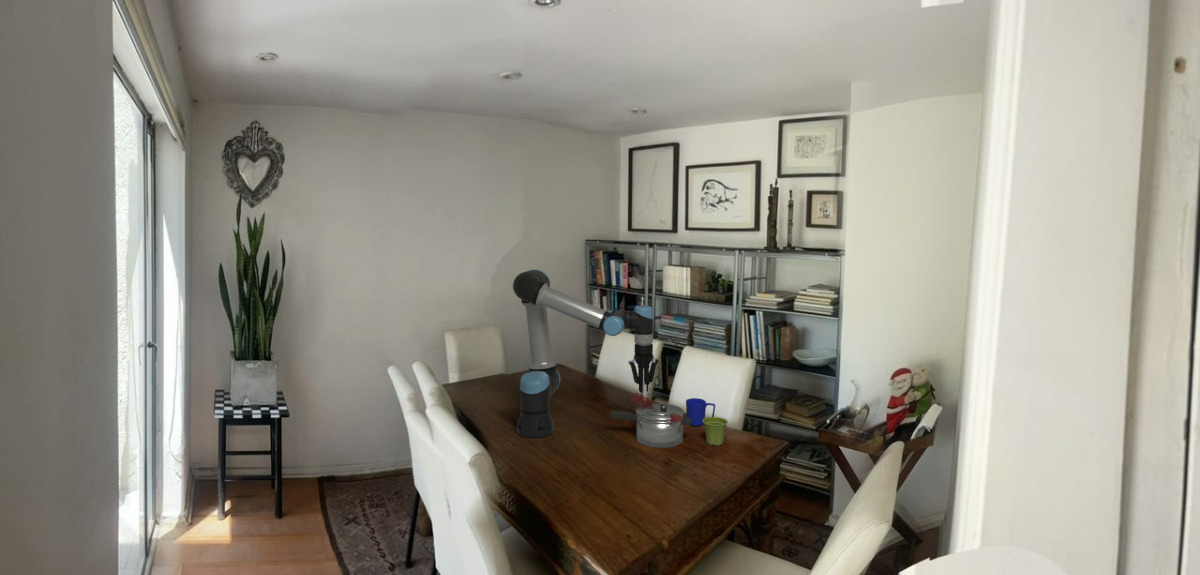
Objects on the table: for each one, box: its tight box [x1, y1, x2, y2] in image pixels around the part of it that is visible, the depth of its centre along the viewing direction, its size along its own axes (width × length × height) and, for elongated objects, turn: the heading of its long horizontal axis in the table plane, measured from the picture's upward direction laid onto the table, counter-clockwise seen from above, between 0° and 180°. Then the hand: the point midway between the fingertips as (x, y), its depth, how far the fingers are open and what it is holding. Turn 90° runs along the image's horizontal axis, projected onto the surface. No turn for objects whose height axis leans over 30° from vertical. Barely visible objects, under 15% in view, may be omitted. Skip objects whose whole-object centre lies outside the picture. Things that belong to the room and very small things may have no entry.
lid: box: [630, 392, 685, 423], centre depth 227 cm, size 32×19×4 cm, turn 28°
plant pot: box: [703, 416, 728, 446], centre depth 220 cm, size 9×9×9 cm
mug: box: [685, 397, 716, 427], centre depth 241 cm, size 8×12×10 cm
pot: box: [610, 410, 692, 449], centre depth 226 cm, size 32×18×10 cm, turn 73°
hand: (643, 399), depth 238 cm, fingers closed
